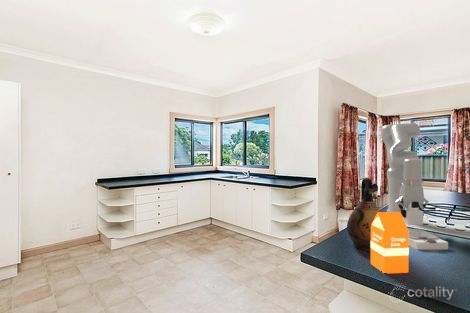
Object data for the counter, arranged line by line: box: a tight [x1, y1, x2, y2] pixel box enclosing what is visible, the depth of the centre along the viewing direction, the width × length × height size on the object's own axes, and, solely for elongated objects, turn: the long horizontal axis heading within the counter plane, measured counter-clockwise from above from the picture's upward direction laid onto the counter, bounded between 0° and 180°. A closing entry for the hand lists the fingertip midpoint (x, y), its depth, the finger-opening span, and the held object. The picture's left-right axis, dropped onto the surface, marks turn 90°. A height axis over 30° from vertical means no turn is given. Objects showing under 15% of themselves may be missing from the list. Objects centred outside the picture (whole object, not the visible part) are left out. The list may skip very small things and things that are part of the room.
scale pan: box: [408, 228, 439, 239], centre depth 113 cm, size 11×11×1 cm
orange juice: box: [370, 211, 410, 274], centre depth 88 cm, size 8×9×20 cm
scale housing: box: [409, 237, 449, 251], centre depth 112 cm, size 17×13×4 cm
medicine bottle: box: [403, 202, 424, 226], centre depth 127 cm, size 7×7×12 cm
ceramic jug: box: [346, 177, 381, 252], centre depth 108 cm, size 17×15×30 cm
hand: (411, 216), depth 127 cm, fingers closed on medicine bottle, 7 cm apart
